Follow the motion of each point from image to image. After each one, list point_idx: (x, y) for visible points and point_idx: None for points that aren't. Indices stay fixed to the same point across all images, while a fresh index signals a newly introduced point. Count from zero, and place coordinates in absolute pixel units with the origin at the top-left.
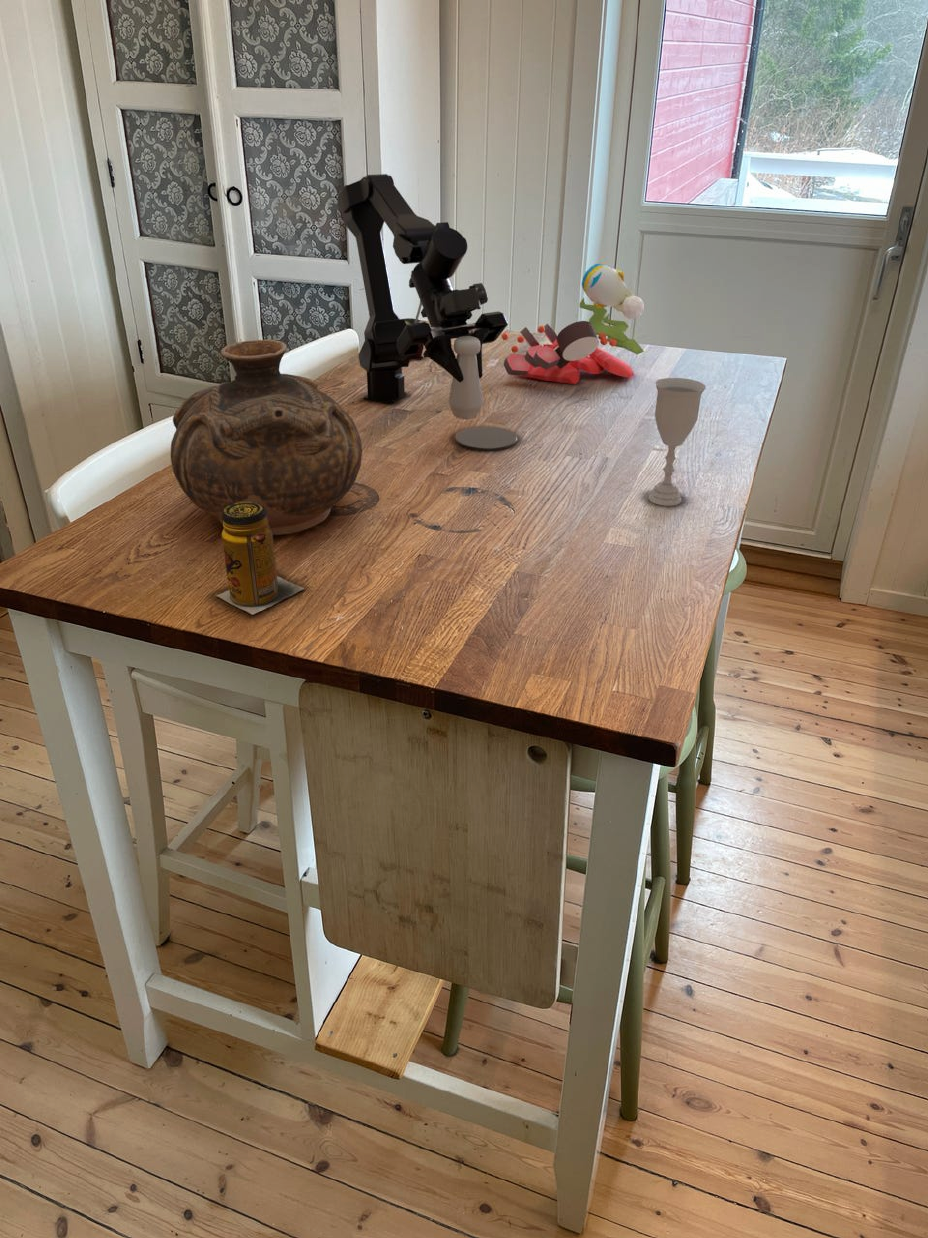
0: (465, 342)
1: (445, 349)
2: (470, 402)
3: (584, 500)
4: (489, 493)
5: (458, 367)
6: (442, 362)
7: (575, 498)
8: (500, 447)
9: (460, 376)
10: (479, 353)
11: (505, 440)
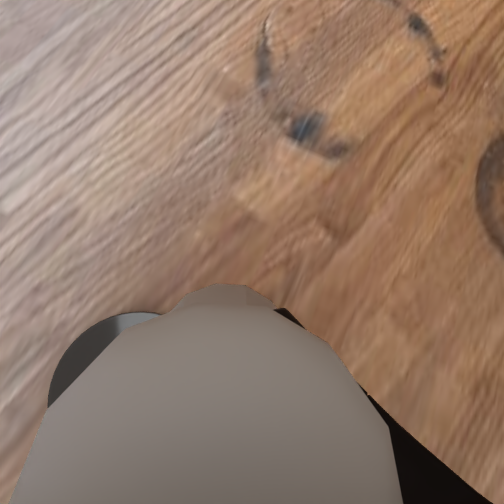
0: (310, 364)
1: (461, 493)
2: (236, 286)
3: (118, 5)
4: (274, 105)
5: None
6: None
7: (129, 19)
8: (137, 312)
9: (292, 315)
10: None
11: (100, 352)
